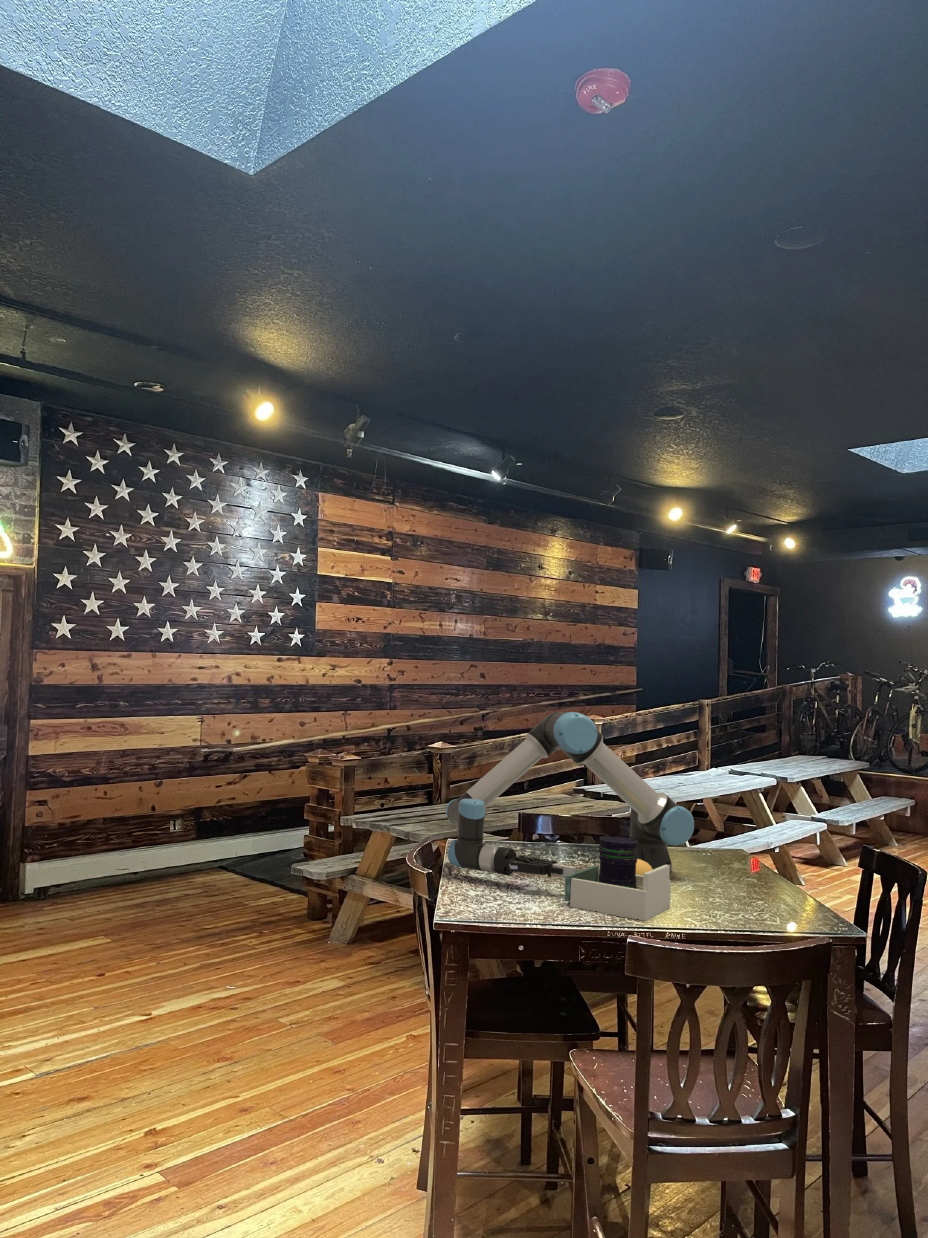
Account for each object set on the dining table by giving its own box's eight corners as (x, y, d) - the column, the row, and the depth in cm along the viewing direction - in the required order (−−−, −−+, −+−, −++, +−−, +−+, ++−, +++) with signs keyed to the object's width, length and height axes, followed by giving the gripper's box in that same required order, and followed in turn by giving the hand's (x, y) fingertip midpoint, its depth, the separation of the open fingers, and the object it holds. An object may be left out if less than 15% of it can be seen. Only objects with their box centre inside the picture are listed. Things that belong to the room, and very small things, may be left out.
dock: (570, 906, 222) (571, 862, 223) (598, 895, 237) (600, 853, 238) (644, 921, 211) (646, 875, 212) (670, 908, 226) (671, 864, 227)
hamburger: (621, 895, 238) (622, 863, 239) (606, 885, 250) (608, 855, 251) (662, 896, 240) (663, 864, 241) (646, 886, 252) (647, 855, 253)
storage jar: (641, 903, 221) (643, 843, 222) (604, 902, 219) (607, 842, 221) (628, 893, 231) (630, 836, 232) (592, 893, 229) (594, 835, 230)
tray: (564, 900, 223) (565, 875, 224) (593, 889, 238) (594, 865, 239) (637, 914, 212) (638, 888, 213) (663, 901, 227) (664, 877, 228)
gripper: (509, 870, 250) (585, 883, 237) (486, 877, 239) (564, 891, 226) (510, 843, 250) (586, 855, 238) (487, 849, 239) (565, 862, 227)
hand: (575, 873), depth 232 cm, fingers closed
